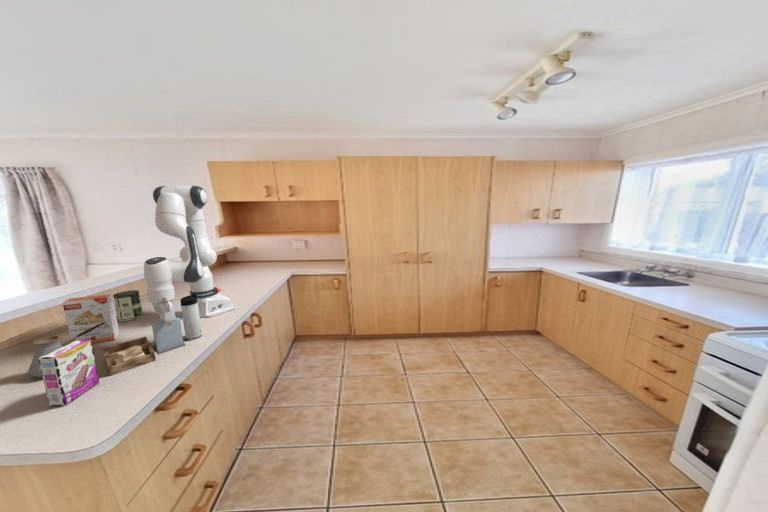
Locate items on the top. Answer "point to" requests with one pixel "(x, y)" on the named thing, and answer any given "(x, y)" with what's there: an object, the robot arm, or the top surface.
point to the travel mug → (191, 317)
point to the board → (167, 334)
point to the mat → (170, 347)
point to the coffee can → (128, 305)
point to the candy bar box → (69, 372)
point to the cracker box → (91, 318)
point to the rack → (114, 369)
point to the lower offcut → (129, 359)
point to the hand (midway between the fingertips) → (166, 325)
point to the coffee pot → (50, 349)
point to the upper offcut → (129, 353)
